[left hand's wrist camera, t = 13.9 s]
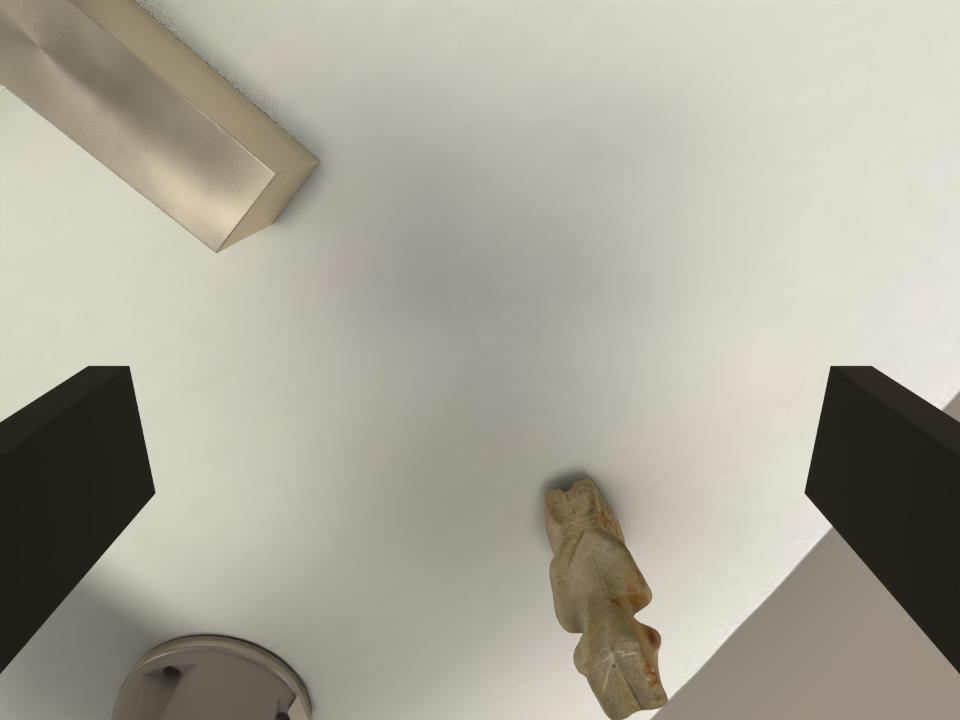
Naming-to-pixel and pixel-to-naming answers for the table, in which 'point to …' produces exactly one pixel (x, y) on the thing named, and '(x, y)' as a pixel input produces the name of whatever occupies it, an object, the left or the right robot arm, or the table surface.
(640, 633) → the sculpture
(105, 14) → the bar
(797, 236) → the table surface
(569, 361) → the table surface
